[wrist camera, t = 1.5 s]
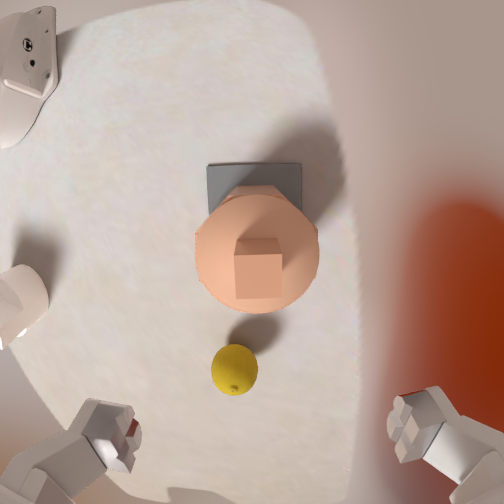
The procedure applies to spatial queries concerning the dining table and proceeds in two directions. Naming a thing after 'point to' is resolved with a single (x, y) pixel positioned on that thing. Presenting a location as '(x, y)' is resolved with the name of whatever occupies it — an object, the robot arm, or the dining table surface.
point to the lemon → (234, 369)
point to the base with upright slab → (20, 302)
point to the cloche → (256, 250)
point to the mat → (253, 180)
